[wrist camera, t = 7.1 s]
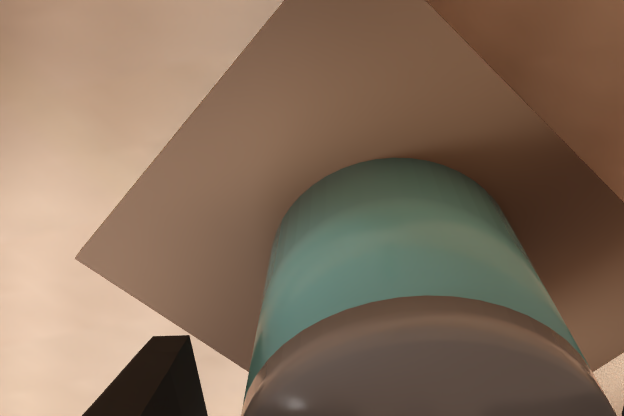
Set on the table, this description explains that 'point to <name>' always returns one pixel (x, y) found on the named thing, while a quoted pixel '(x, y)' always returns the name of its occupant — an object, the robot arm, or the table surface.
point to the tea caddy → (409, 306)
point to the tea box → (345, 152)
